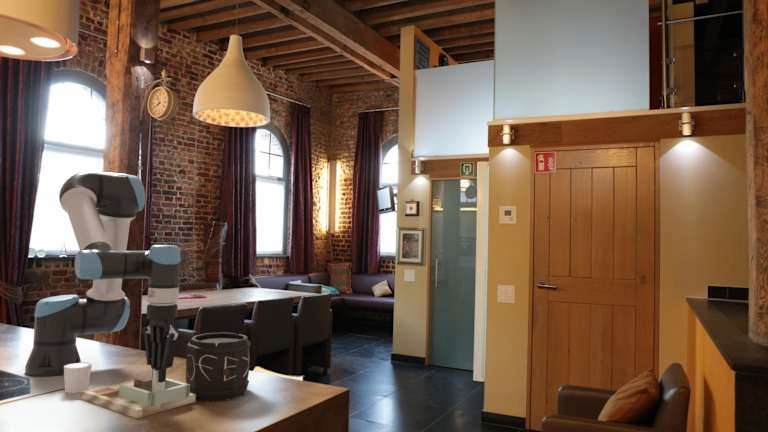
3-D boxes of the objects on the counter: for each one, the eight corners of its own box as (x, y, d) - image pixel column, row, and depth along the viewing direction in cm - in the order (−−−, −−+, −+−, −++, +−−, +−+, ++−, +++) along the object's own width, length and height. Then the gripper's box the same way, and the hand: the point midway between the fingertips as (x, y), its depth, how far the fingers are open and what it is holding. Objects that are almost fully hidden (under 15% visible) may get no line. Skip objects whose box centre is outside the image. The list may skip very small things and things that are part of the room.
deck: (81, 398, 145) (81, 391, 145) (139, 385, 159) (140, 378, 159) (137, 418, 132) (137, 410, 132) (195, 401, 146) (195, 394, 146)
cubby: (119, 396, 142) (119, 384, 142) (158, 386, 152) (158, 376, 152) (150, 406, 135) (151, 394, 135) (189, 395, 144) (190, 384, 144)
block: (133, 393, 144) (134, 378, 145) (148, 390, 148) (149, 375, 148) (143, 397, 142) (144, 381, 142) (158, 393, 146) (159, 378, 146)
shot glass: (96, 388, 155) (97, 363, 155) (75, 394, 148) (76, 368, 149) (77, 385, 157) (79, 361, 157) (56, 391, 151) (57, 366, 151)
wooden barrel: (188, 406, 142) (191, 345, 143) (179, 387, 158) (182, 333, 159) (256, 398, 151) (259, 341, 151) (242, 382, 167) (244, 330, 167)
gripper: (134, 302, 144) (130, 392, 143) (165, 307, 137) (160, 402, 136) (159, 300, 150) (155, 386, 149) (190, 304, 143) (186, 395, 142)
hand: (158, 393), depth 142 cm, fingers closed
